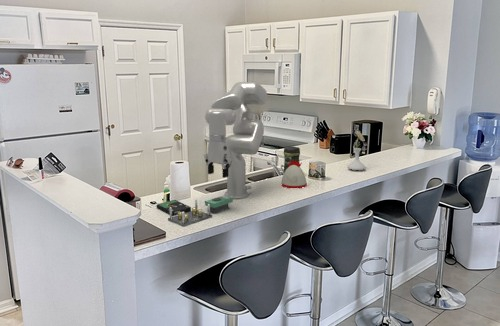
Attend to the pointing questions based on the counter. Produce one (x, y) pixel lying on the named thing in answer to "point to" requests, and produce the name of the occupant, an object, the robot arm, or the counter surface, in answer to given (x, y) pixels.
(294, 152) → the coffee jar
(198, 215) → the chassis
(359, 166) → the flower in vase
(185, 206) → the disk drive
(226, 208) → the block
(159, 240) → the counter surface
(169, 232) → the counter surface
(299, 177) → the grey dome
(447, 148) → the counter surface
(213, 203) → the board
